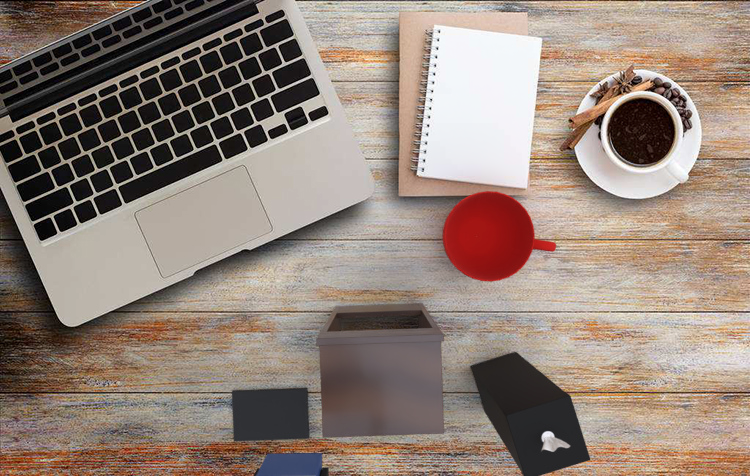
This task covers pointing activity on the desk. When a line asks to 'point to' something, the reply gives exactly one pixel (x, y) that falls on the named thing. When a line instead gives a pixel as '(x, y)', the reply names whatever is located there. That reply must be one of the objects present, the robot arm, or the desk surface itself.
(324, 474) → the robot arm
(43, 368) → the desk surface
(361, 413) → the square planter pot
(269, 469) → the box
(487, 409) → the tissue box
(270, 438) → the mat
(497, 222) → the ceramic cup
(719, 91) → the desk surface
